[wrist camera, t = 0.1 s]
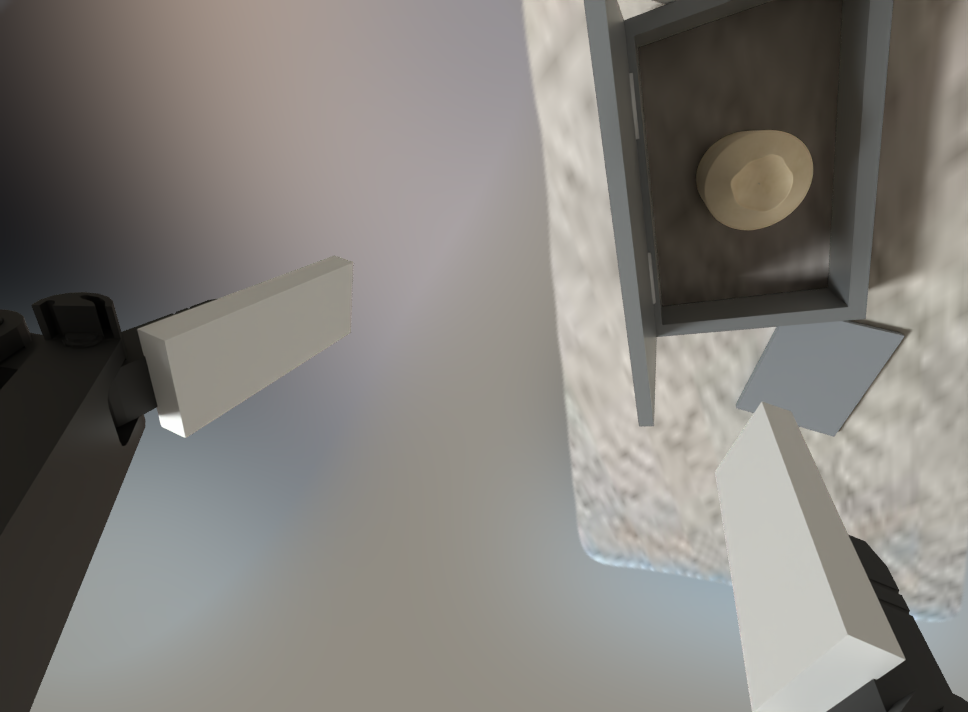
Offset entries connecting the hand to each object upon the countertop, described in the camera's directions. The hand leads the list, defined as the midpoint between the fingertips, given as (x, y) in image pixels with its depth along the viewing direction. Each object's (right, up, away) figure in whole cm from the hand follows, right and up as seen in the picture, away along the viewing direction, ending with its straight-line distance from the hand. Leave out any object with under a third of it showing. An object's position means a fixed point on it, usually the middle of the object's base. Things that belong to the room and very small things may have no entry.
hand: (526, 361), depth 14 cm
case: (+18, +14, +19) cm, 29 cm away
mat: (+26, -1, +23) cm, 35 cm away
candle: (+18, +14, +19) cm, 30 cm away
